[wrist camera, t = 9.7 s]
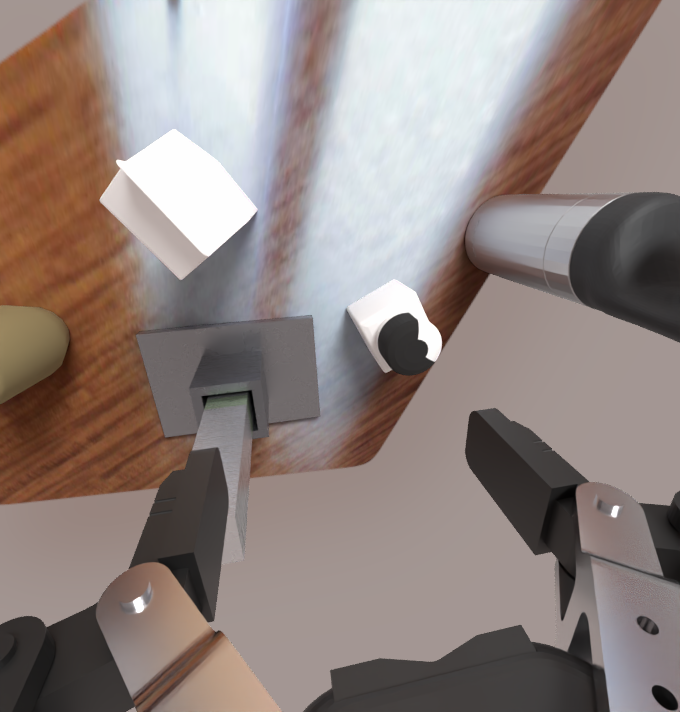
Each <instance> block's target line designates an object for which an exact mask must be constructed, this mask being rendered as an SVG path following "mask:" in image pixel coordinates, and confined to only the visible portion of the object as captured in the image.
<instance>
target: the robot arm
mask: <svg viewBox="0 0 680 712" xmlns="http://www.w3.org/2000/svg"><path fill="white" fill-rule="evenodd" d="M465 247H466V252H467V255H468V257H469V259H470V261H471V262H472V263H473V265H474V266H476V267H477V268H478V269H480V270H482V271H485V272H487V273H490V274H493V275H497V276H499V277H502V278H505V279H508V280H511V281H513V282H517V283H519V284H522V285H525V286H528V287H531V288H534V289H537V290H540V291H543V292H546V293H549V294H552V295H555V296H558V297H561V298H564V299H567V300H570V301H573V302H576V303H579V304H582V305H585V306H588V307H591V308H593V309H597V310H600V311H602V312H604V313H606V314H608V315H611V316H613V317H616V318H618V319H621V320H625V321H627V322H630V323H632V324H635V325H638V326H640V327H643V328H646V329H648V330H650V331H653V332H655V333H658V334H661V335H663V336H665V337H668V338H670V339H673V340H675V341H677V342H680V196H678V195H675V194H670V193H659V192H647V193H646V192H643V193H599V194H598V193H595V194H594V193H592V194H516V195H500V196H496V197H493V198H491V199H490V200H488V201H486V202H485V203H484V204H482V205H481V206H480V207H479V208H478V209H477V211H476V212H475V213H474V215H473V216H472V218H471V220H470V222H469V224H468V227H467V230H466V236H465ZM465 454H466V459H467V462H468V465H469V467H470V469H471V470H472V471H473V473H474V474H475V475H476V477H477V478H478V479H479V481H480V482H481V484H482V485H483V486H484V488H485V489H486V490H487V492H488V493H489V494H490V495H491V497H492V498H493V500H494V501H495V502H496V504H497V505H498V506H499V508H500V509H501V510H502V512H503V513H504V514H505V516H506V517H507V518H508V520H509V521H510V522H511V523H512V525H513V526H514V528H515V529H516V530H517V532H518V533H519V534H520V536H521V537H522V538H523V539H524V541H525V542H526V544H527V545H528V546H529V548H530V549H531V550H532V551H533V553H534V554H535V555H538V554H544V553H548V552H552V553H553V554H554V555H555V556H556V558H557V559H556V563H555V599H556V600H555V602H556V640H555V646H554V647H553V646H550V645H546V644H541V643H536V642H531V641H530V639H529V638H528V636H527V634H526V633H525V631H524V629H523V628H522V626H521V625H518V626H514V627H509V628H505V629H501V630H497V631H493V632H489V633H484V634H480V635H477V636H475V637H474V638H472V639H470V640H469V641H467V642H466V643H464V644H463V645H461V646H460V647H458V648H456V649H455V650H453V651H452V652H450V653H449V654H447V655H446V656H444V657H443V658H441V659H439V660H437V661H434V662H423V661H408V660H394V659H376V660H372V661H367V662H363V663H359V664H355V665H350V666H346V667H343V668H338V669H334V670H331V671H330V673H331V683H332V688H331V689H330V690H328V691H327V692H325V693H323V694H322V695H321V696H319V697H318V698H317V699H316V700H314V701H313V702H312V703H311V704H310V705H309V706H308V707H307V708H306V709H305V710H304V711H303V712H680V491H679V492H677V493H676V494H675V496H674V498H673V500H672V503H671V505H670V506H666V505H655V504H643V503H638V502H637V501H636V500H635V499H634V498H633V497H632V496H630V495H629V494H627V493H626V492H624V491H622V490H620V489H618V488H616V487H613V486H611V485H607V484H603V483H597V482H589V481H588V480H587V479H585V478H584V477H583V476H582V475H581V474H580V473H579V472H578V471H576V470H575V469H574V468H573V467H572V466H571V465H570V464H569V463H568V462H566V461H565V460H564V459H563V458H562V457H561V456H560V455H558V454H557V453H556V452H555V451H552V448H551V447H549V446H548V445H547V444H546V443H545V442H542V440H541V439H540V438H539V437H538V436H537V435H536V434H535V433H533V432H532V431H531V430H530V429H528V428H526V427H524V426H522V425H520V424H519V423H517V422H515V421H510V420H509V419H507V418H506V417H505V416H504V415H503V414H502V413H501V412H500V411H499V410H497V409H495V408H493V409H487V410H479V411H473V412H471V414H470V416H469V424H468V432H467V440H466V448H465ZM228 508H229V496H228V487H227V482H226V478H225V473H224V468H223V464H222V459H221V455H220V451H219V448H218V447H214V448H207V449H200V450H193V451H191V452H190V454H189V457H188V461H187V464H186V467H185V470H178V471H173V472H172V473H171V474H170V475H169V476H168V477H167V478H166V479H165V481H164V482H163V483H162V484H161V485H160V487H159V490H158V493H157V495H156V498H155V503H154V504H153V506H152V509H151V511H150V517H148V519H147V522H146V525H145V527H144V530H143V532H142V535H141V538H140V540H139V543H138V546H137V549H136V551H135V554H134V557H133V559H132V562H131V564H130V567H129V569H128V570H127V571H125V572H123V573H122V574H121V575H119V576H118V577H117V578H116V579H115V580H114V581H112V582H111V583H110V585H109V586H108V587H107V588H106V590H105V591H104V592H103V594H102V596H101V597H100V599H99V601H98V602H97V603H96V604H94V605H93V606H91V607H89V608H87V609H85V610H83V611H81V612H79V613H76V614H74V615H72V616H70V617H68V618H66V619H64V620H61V621H59V622H57V623H55V624H53V625H51V626H49V627H46V626H45V624H44V623H43V622H42V620H40V619H39V618H37V617H32V616H24V617H19V618H15V619H12V620H10V621H7V622H5V623H3V624H1V625H0V712H126V711H128V710H129V709H131V708H133V707H135V708H136V711H137V712H282V711H281V709H280V708H279V707H278V705H277V704H276V703H275V701H274V700H273V698H272V697H271V696H270V695H269V693H268V692H267V690H266V689H265V688H264V686H263V685H262V684H261V682H260V681H259V680H258V678H257V677H256V676H255V674H254V673H253V671H252V670H251V669H250V667H249V666H248V665H247V663H246V662H245V661H244V659H243V658H242V657H241V655H240V654H239V653H238V651H237V650H236V649H235V647H234V646H233V645H232V643H231V642H230V641H229V639H228V638H227V637H226V636H225V635H224V634H223V633H222V632H221V631H217V632H215V631H214V630H213V629H212V628H211V627H210V625H209V624H208V622H212V621H214V617H215V610H216V602H217V594H218V586H219V577H220V571H221V563H222V555H223V547H224V539H225V532H226V524H227V516H228Z"/></svg>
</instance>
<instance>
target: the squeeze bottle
mask: <svg viewBox="0 0 680 712" xmlns="http://www.w3.org/2000/svg"><path fill="white" fill-rule="evenodd" d="M69 341H70V336H69V330H68V328H67V326H66V325H65V323H64V322H63V320H62V319H61V318H59V317H58V316H57V315H56V314H54V313H53V312H51V311H48V310H46V309H43V308H41V307H24V306H6V305H2V306H0V404H2V403H4V402H5V401H7V400H9V399H10V398H12V397H14V396H16V395H17V394H19V393H21V392H22V391H24V390H26V389H27V388H29V387H31V386H33V385H34V384H36V383H38V382H39V381H41V380H43V379H44V378H46V377H48V376H50V375H51V374H52V373H54V372H55V371H56V370H57V369H58V368H59V367H60V366H61V365H62V363H63V360H64V357H65V354H66V351H67V347H68V344H69Z"/></svg>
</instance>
